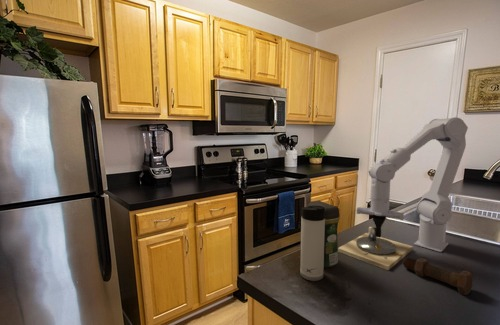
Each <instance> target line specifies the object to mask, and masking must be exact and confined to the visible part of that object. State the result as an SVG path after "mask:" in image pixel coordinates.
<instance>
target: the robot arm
mask: <svg viewBox="0 0 500 325" xmlns="http://www.w3.org/2000/svg"><path fill="white" fill-rule="evenodd" d="M468 129H469V127H468V125H467V124H466V123H465V121H464V120H463V119H462V118H461V117H460V118H459V117H457V116H455V117H449V118H447V117H446V118H433V119H432V120H430V121H429V122H428V123H426V124H424V125H423V127H422V129H421V130H420V131H419V132H418V133H416V135H415V136H414V137H413V138H411V139H410V141H408V142H407V143H406V144H405V145H403V147H396V148H392V149H391V150H389V151H390V153H389V154H388V155H386V156H385V157H384V158H381V159H380V160H379V162H377V163H374V164H372V166H371V167H370V169H369V170H368V174H369V175H368V176H370V178H371V187H370V188H371V189H370V207H358V206H357V207H356V214H357V215H360V214H361V215H368V216H372V222H373V224H374V226H375V227H376V228H377V230H376V237H380V238H381V237H382V226H383V224H384V223H385V222H386V218H387V219H388V218H389V219H395V220H396V219H397V220H400V221H404V216H405V213H404V212H398V211H393V210H390V195H391V194H390V192H391V180H394V178H395V175H396V172H397V171H399V170H400V169H402V167H404V166H405V165H406V164H407V163H409V162H410V160H411V158H412V157H411V155H412V154H414V153H415V152H416V151H418V150H419V149H421V148H422V147H424V146H425V145H426V144H427V143H429V142H430V141H432V140H433V141H434V140H436V141H437V142H439V143H440V145H441V146H442V147H443V148H442V149H443V150H442V152H441V155H440V158H439V160H438V164H437V167H436V169H435V173H434V175H433V179H432V182H431V184H430V188H429V190H428V191H427V192H425V193H424V194H422V197H421V199H420V200H419V201H418V202H417V204H416V208H415V210H416V213H417V214H419V227H418V231H419V233H418V239H417V240H416V241H415V242H413V245H414V246H418V247H421V248H425V249H429V250H432V251H435V252H439V253H442V252H443V251H444V250H445V249H446V248H447V246H448V245H449V242H446V233H447V226H446V225H447V223H448V222H450V220H451V218H452V217H453V216H452V215H453V213H452V209H453V208H452V207H453V202H452V201H451V199H450V198H449V195H450V193H451V189H452V187H453V184H454V181H455V178H456V175H457V173H458V169H459V167H460V164H461V161H462V158H463V155H464V152H465V149H466V145H467V144H466V143H467V142H466V135H467V131H468Z"/></svg>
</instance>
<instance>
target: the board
mask: <svg viewBox="0 0 500 325" xmlns="http://www.w3.org/2000/svg"><path fill="white" fill-rule="evenodd" d="M361 237H368V232H365V233H362V235H359V236H358V237H355V238H354V239H352V240H350V241H348V242H347V243H345V244H342V245H341V246H338V253H341V254H344V255H345V256H349V257H351V258H354V259H357V260H359V261H362V262H365V263H367V264H370V265H372V266H376V267H379V268H380V269H384V270H386V271H389V270H391V269H392V268H393V267H394V266H395V265H397V264H398V263H399V262H400V261H401V260H402V259H404V258H406V256H407V255H408V254H409V253H410V252H412V251H413V248H414V246H413V245H409V244H407V243H406V244H405V243H403V242H402V243H401V242H399V241H395V240H392V239H388V238H385V237H382V236H381V239H385V240H388V241H390V242H392V243H393V244H394V245H395V246H396V252H395V253H393V254H389V255H379V254H373V253H369V252H366V251H364V250H362V249H360V248H359V247H358V246H357V245H356V240H357V239H358V238H361ZM377 238H380V237H377Z"/></svg>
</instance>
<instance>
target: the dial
mask: <svg viewBox="0 0 500 325" xmlns="http://www.w3.org/2000/svg"><path fill="white" fill-rule="evenodd" d="M376 230H377V228H376V225H369V226H368V232H367V233H368V237H361V238H358V239H357V240H356V245H357V246H358V247H359V248H360V249H362V250H364V251H366V252H369V253H373V254H379V255H389V254H393V253H395V252H396V246H395V245H394V244H393V243H392V242H390V241H388V240H385V239H386V238H385V239H381V238H377V237H376Z"/></svg>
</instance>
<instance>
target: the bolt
mask: <svg viewBox="0 0 500 325" xmlns="http://www.w3.org/2000/svg"><path fill="white" fill-rule="evenodd" d="M402 265H403V267H404V268H406V269H409V270H411V271H412V272H413V271H414V272H415V273H414V274H415V275H417V276H419V277H421V278H423V277H430V278H432V279H434V280H438V281H440V282H443V283H446V284H448V285H450V286H453V287H456V289H457V291H458V293H459V294H461V295H464V296H467V295H469V294H470V292H471V290H472V288H473V282H474V281H473V280H474V279H473V274H472V273H471V272H470V271H467V270H465V269H464V270H462V271H461V272H460V273H457V272H454V271H450V270H448V269H445V268H442V267H440V266H436V265H433V264H430V263H429V262H428V260H427V259H426V258H422V257H421V258H418V259H415V258H412V257H409V256H408V257H403V261H402Z"/></svg>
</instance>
